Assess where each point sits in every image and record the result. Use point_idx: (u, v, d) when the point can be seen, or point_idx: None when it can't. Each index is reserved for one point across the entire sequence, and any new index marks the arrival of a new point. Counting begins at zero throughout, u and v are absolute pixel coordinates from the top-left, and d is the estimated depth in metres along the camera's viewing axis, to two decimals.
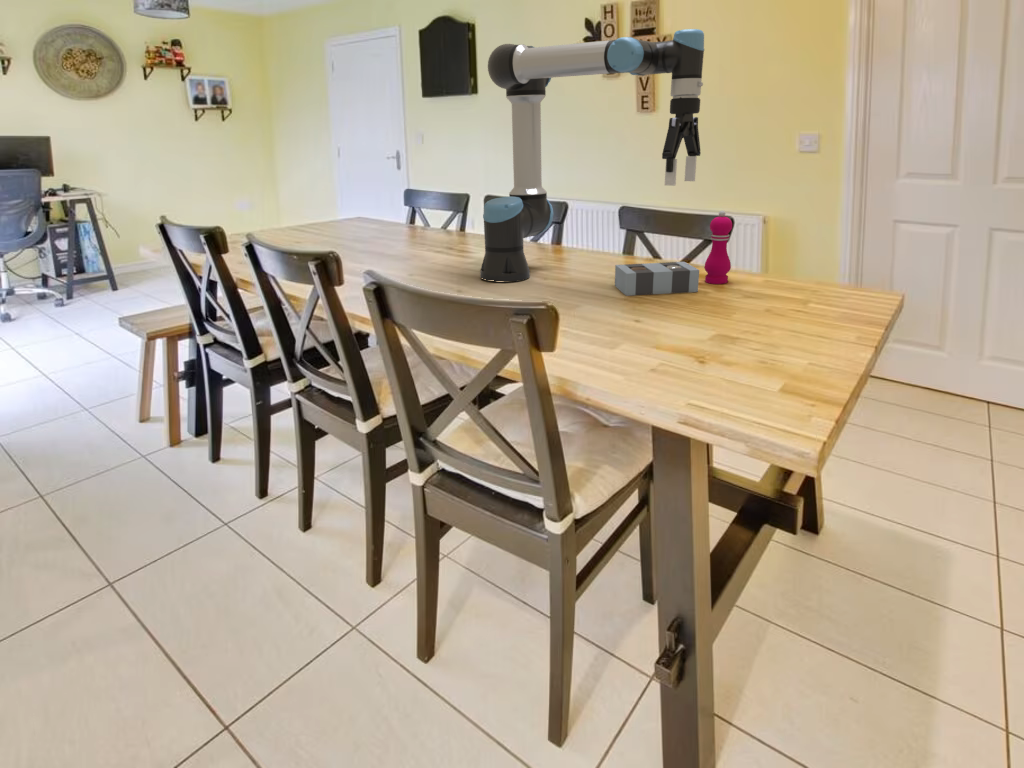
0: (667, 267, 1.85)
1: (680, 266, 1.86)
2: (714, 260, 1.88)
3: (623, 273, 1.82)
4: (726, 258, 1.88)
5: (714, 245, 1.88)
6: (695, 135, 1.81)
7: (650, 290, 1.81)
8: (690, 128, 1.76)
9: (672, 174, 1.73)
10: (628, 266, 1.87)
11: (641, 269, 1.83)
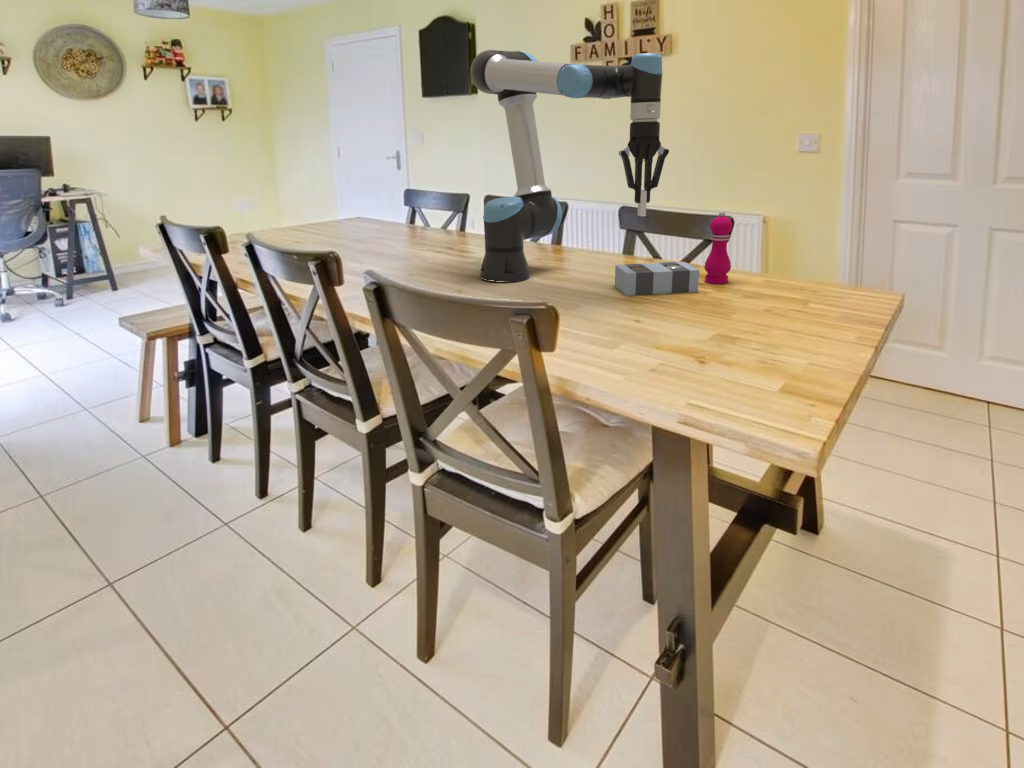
0: (667, 267, 1.85)
1: (680, 266, 1.86)
2: (714, 260, 1.88)
3: (623, 273, 1.82)
4: (726, 258, 1.88)
5: (714, 245, 1.88)
6: (657, 165, 1.74)
7: (650, 290, 1.81)
8: (647, 151, 1.72)
9: (640, 205, 1.78)
10: (628, 266, 1.87)
11: (641, 269, 1.83)
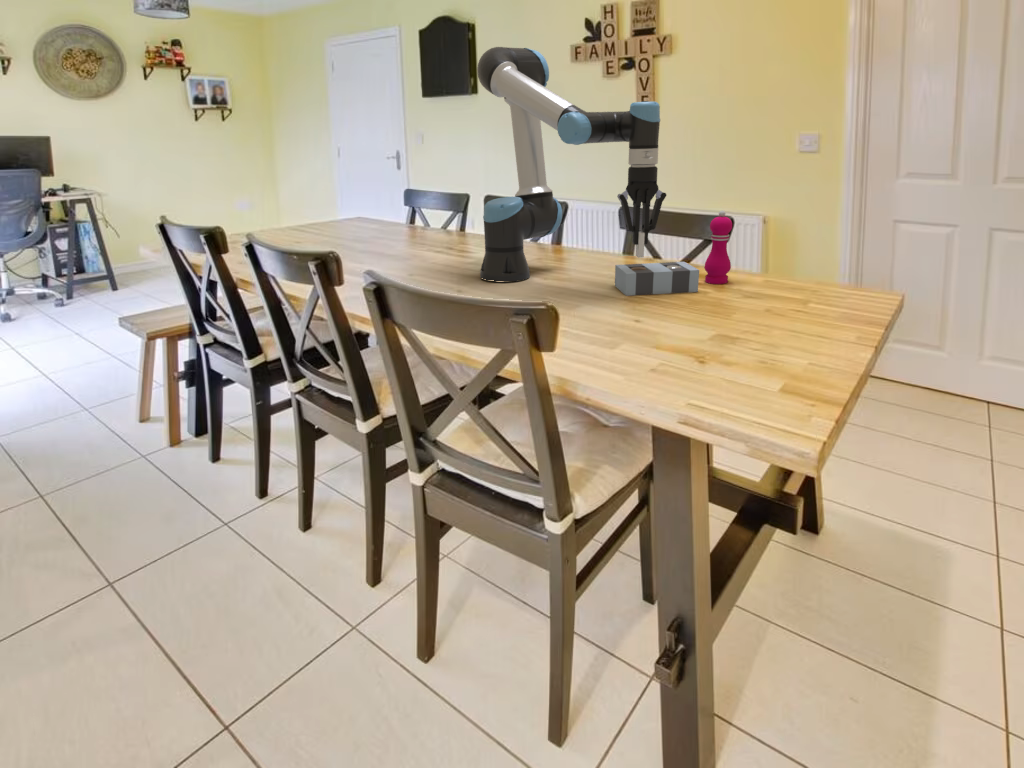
0: (667, 267, 1.85)
1: (680, 266, 1.86)
2: (714, 260, 1.88)
3: (623, 273, 1.82)
4: (726, 258, 1.88)
5: (714, 245, 1.88)
6: (655, 208, 1.78)
7: (650, 290, 1.81)
8: (645, 195, 1.76)
9: (638, 246, 1.82)
10: (628, 266, 1.87)
11: (641, 269, 1.83)
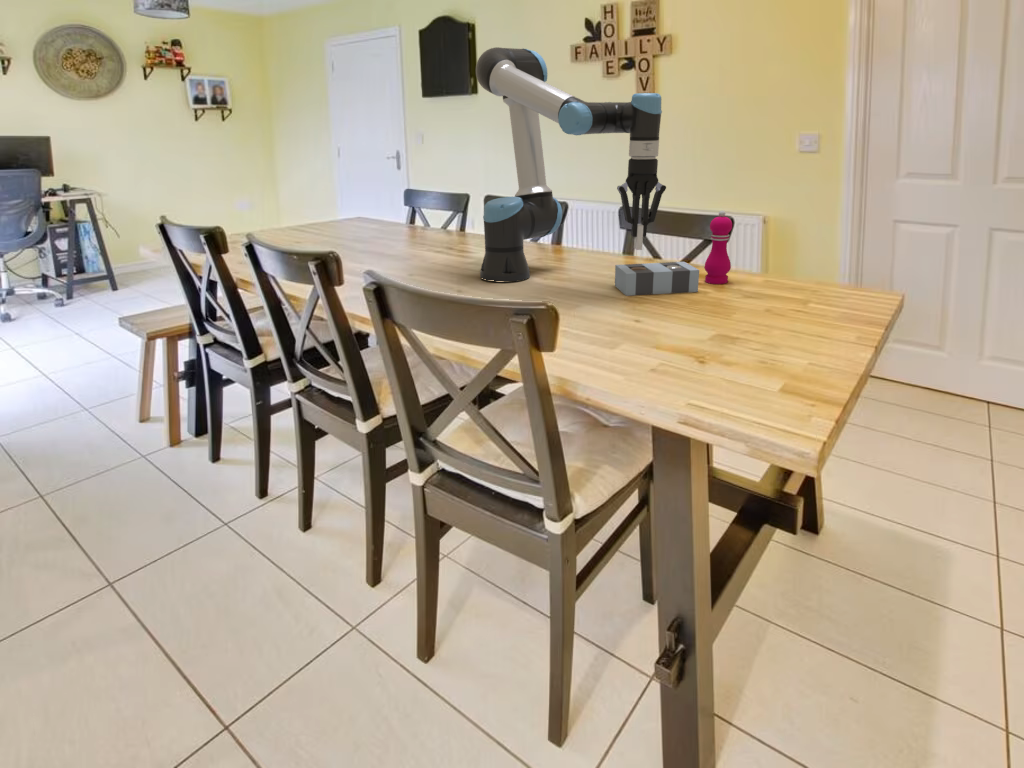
0: (667, 267, 1.85)
1: (680, 266, 1.86)
2: (714, 260, 1.88)
3: (623, 273, 1.82)
4: (726, 258, 1.88)
5: (714, 245, 1.88)
6: (654, 201, 1.78)
7: (650, 290, 1.81)
8: (645, 187, 1.76)
9: (636, 239, 1.81)
10: (628, 266, 1.87)
11: (641, 269, 1.83)
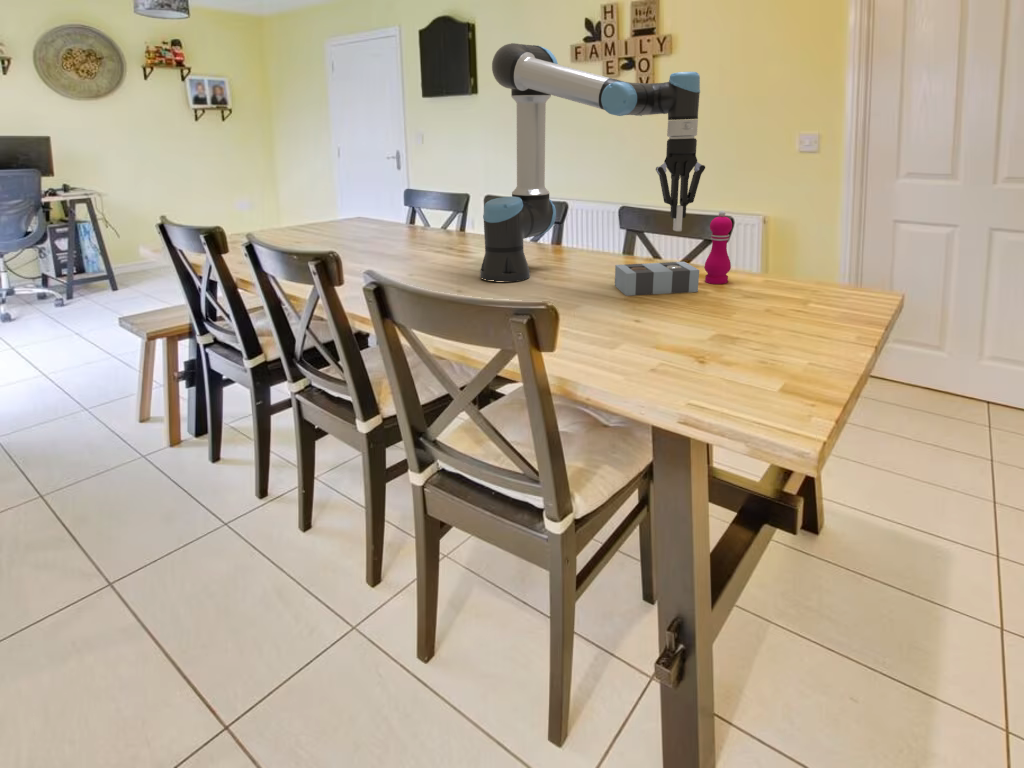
0: (667, 267, 1.85)
1: (680, 266, 1.86)
2: (714, 260, 1.88)
3: (623, 273, 1.82)
4: (726, 258, 1.88)
5: (714, 245, 1.88)
6: (694, 181, 1.77)
7: (650, 290, 1.81)
8: (684, 167, 1.75)
9: (675, 220, 1.80)
10: (628, 266, 1.87)
11: (641, 269, 1.83)
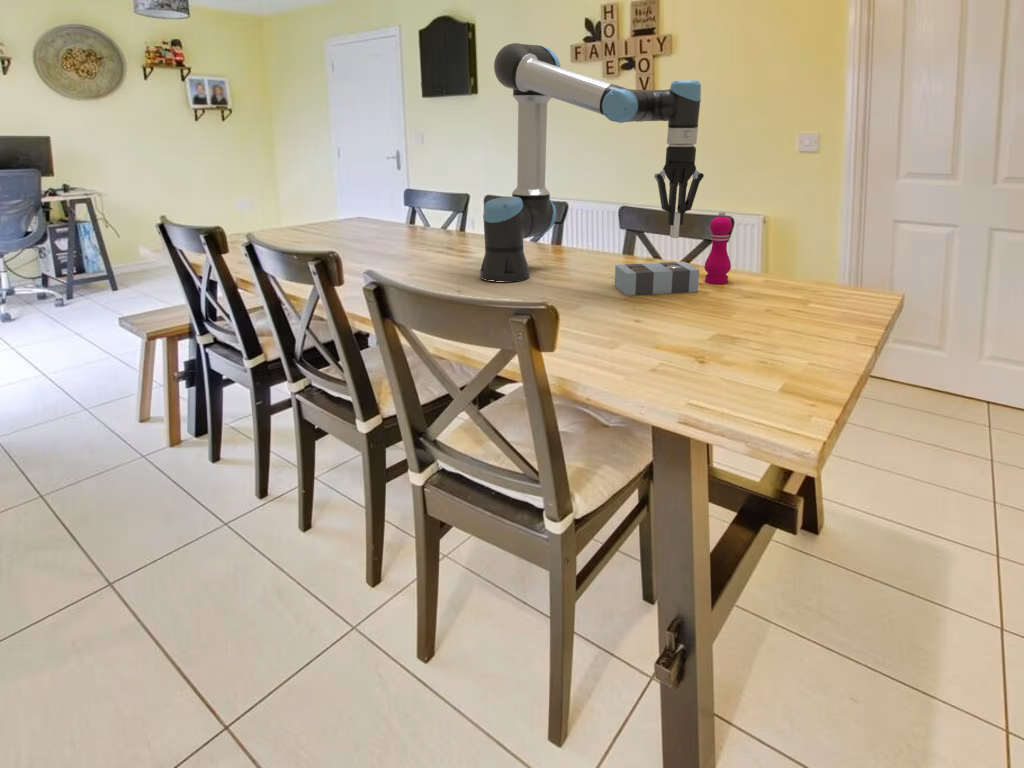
0: (667, 267, 1.85)
1: (680, 266, 1.86)
2: (714, 260, 1.88)
3: (623, 273, 1.82)
4: (726, 258, 1.88)
5: (714, 245, 1.88)
6: (692, 189, 1.78)
7: (650, 290, 1.81)
8: (683, 175, 1.76)
9: (673, 227, 1.81)
10: (628, 266, 1.87)
11: (641, 269, 1.83)
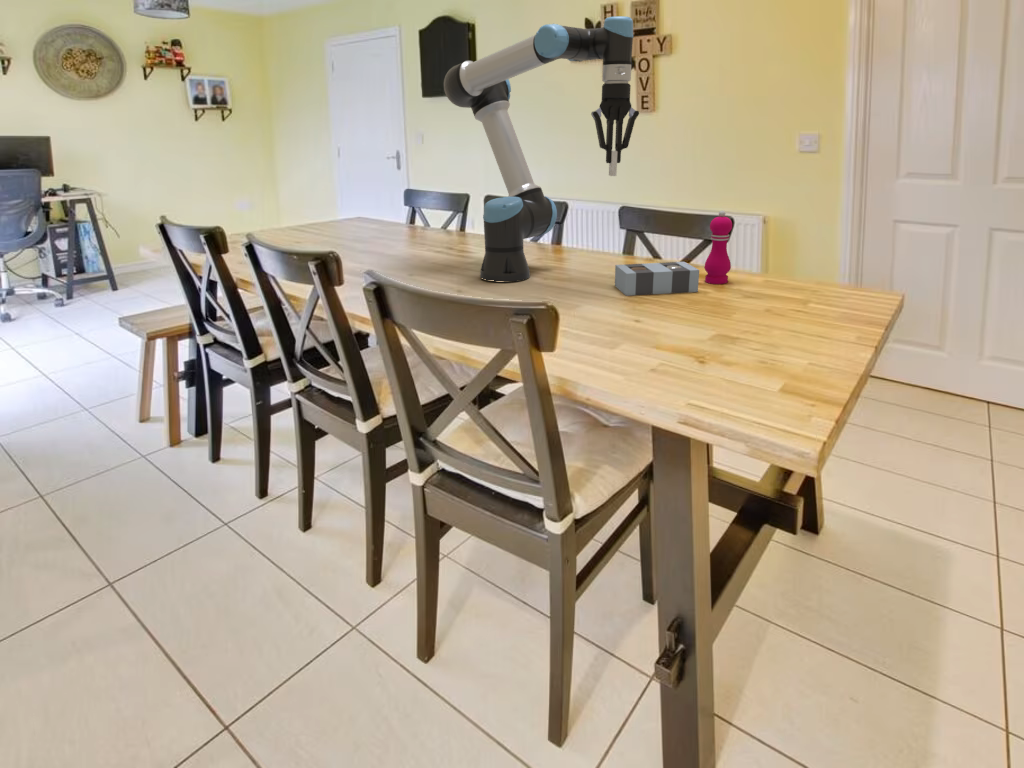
0: (667, 267, 1.85)
1: (680, 266, 1.86)
2: (714, 260, 1.88)
3: (623, 273, 1.82)
4: (726, 258, 1.88)
5: (714, 245, 1.88)
6: (628, 127, 1.82)
7: (650, 290, 1.81)
8: (618, 112, 1.80)
9: (610, 165, 1.85)
10: (628, 266, 1.87)
11: (641, 269, 1.83)
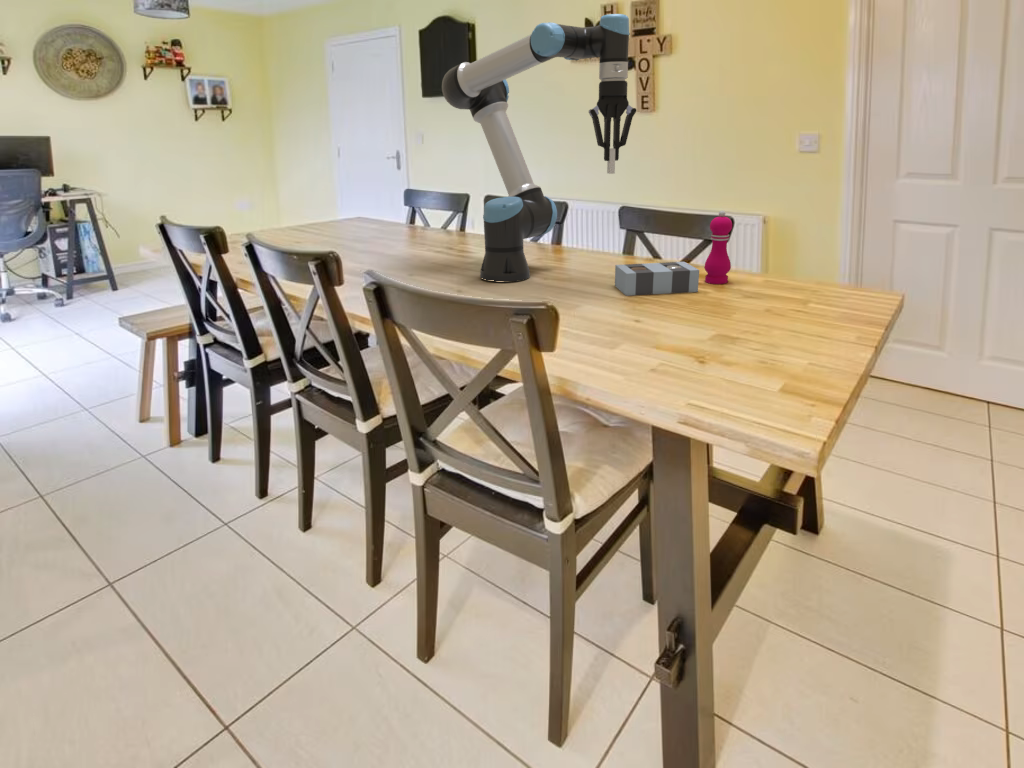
0: (667, 267, 1.85)
1: (680, 266, 1.86)
2: (714, 260, 1.88)
3: (623, 273, 1.82)
4: (726, 258, 1.88)
5: (714, 245, 1.88)
6: (625, 124, 1.82)
7: (650, 290, 1.81)
8: (616, 110, 1.80)
9: (609, 163, 1.85)
10: (628, 266, 1.87)
11: (641, 269, 1.83)
